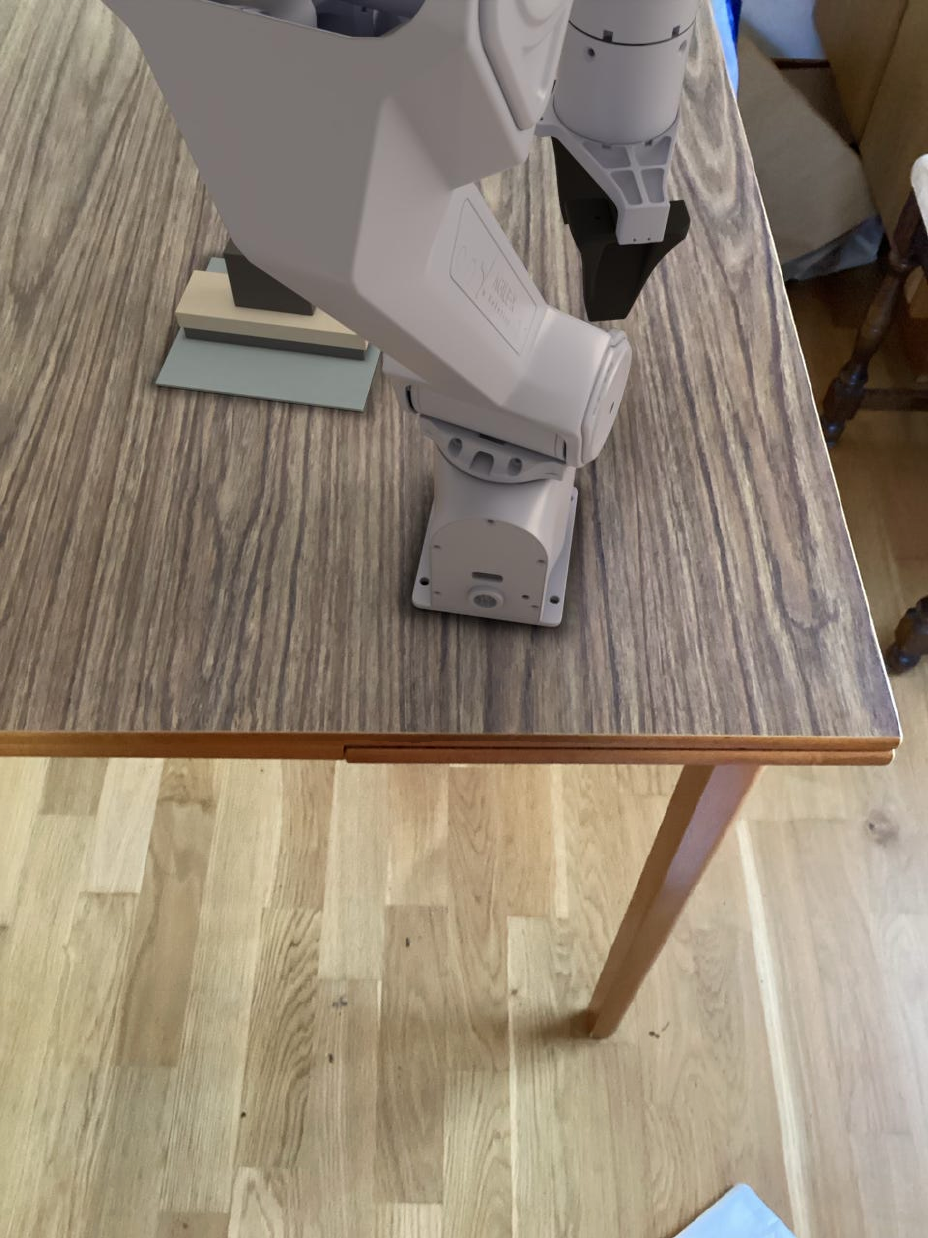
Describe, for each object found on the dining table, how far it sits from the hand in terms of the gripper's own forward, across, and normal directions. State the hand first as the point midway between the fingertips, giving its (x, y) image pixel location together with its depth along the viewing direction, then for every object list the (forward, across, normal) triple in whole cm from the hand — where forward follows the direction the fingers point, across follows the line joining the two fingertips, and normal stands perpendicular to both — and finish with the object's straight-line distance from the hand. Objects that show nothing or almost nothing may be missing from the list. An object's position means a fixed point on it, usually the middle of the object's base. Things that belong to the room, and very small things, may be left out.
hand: (593, 265), depth 55 cm
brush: (+9, -7, -18) cm, 21 cm away
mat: (+9, -7, -18) cm, 21 cm away
